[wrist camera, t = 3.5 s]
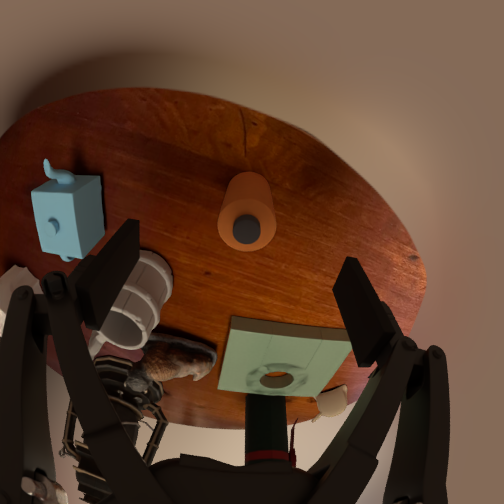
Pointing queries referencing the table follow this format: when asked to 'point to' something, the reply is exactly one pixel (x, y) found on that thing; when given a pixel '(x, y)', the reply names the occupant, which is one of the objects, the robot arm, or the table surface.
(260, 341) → the green peg socket base
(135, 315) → the mug
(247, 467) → the robot arm
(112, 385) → the lantern
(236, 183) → the orange cylinder
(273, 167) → the table surface
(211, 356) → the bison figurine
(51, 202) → the teapot
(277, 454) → the wine bottle
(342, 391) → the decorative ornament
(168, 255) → the table surface
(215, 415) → the table surface
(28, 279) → the cup
